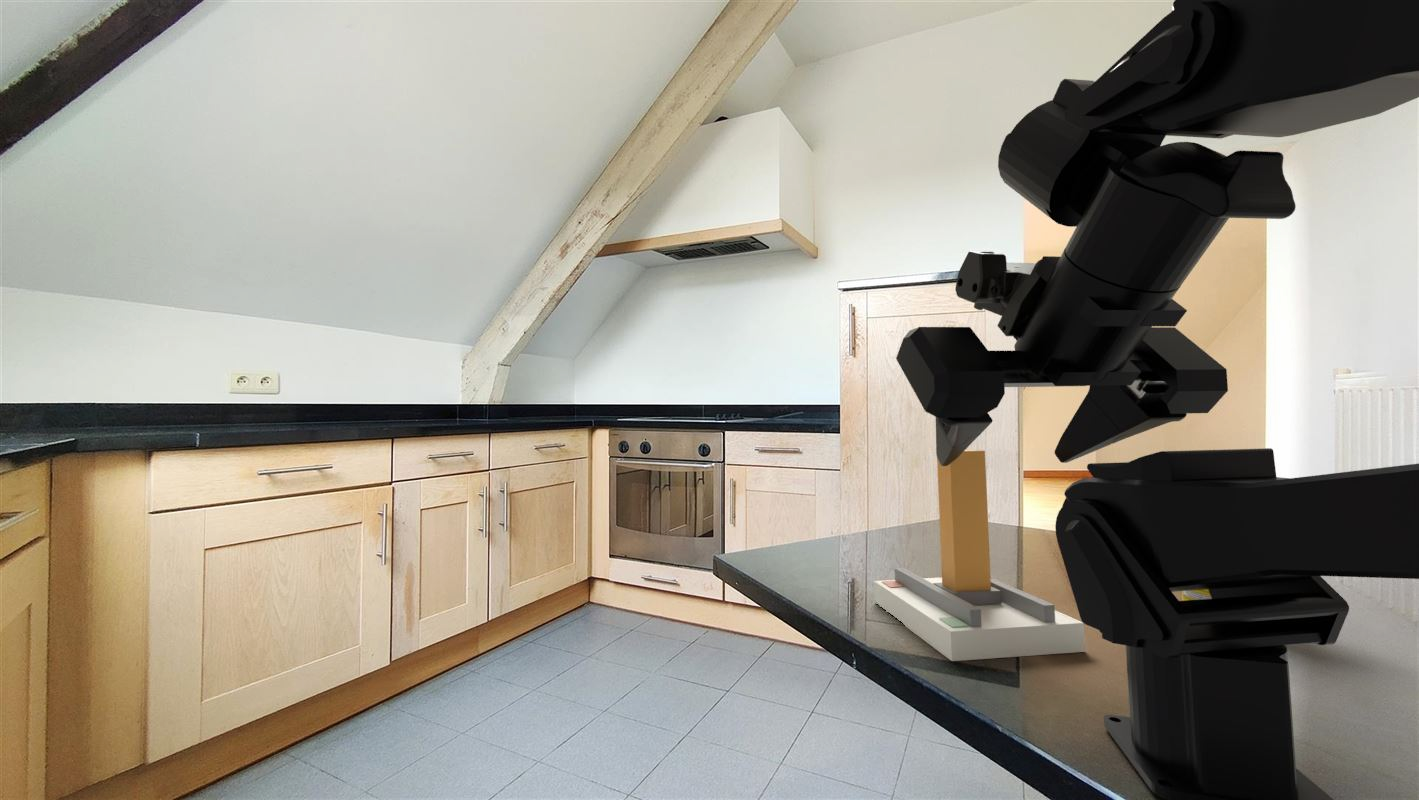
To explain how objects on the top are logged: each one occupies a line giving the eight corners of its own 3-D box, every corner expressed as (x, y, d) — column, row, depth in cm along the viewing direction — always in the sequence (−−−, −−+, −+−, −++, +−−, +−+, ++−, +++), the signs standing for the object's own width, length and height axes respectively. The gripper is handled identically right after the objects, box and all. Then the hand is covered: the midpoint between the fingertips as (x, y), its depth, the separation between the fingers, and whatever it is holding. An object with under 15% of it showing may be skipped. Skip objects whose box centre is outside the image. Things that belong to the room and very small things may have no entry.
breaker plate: (1085, 651, 40) (1082, 605, 40) (951, 661, 38) (949, 613, 39) (977, 597, 52) (975, 562, 53) (874, 603, 51) (873, 567, 51)
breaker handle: (1001, 603, 44) (994, 450, 45) (953, 606, 44) (947, 452, 44) (979, 592, 47) (972, 449, 48) (933, 595, 47) (928, 450, 47)
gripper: (1171, 207, 37) (1058, 386, 48) (904, 199, 35) (846, 388, 45) (1322, 297, 29) (1145, 489, 39) (985, 294, 27) (892, 497, 37)
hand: (1001, 459), depth 41 cm, fingers open, 9 cm apart
